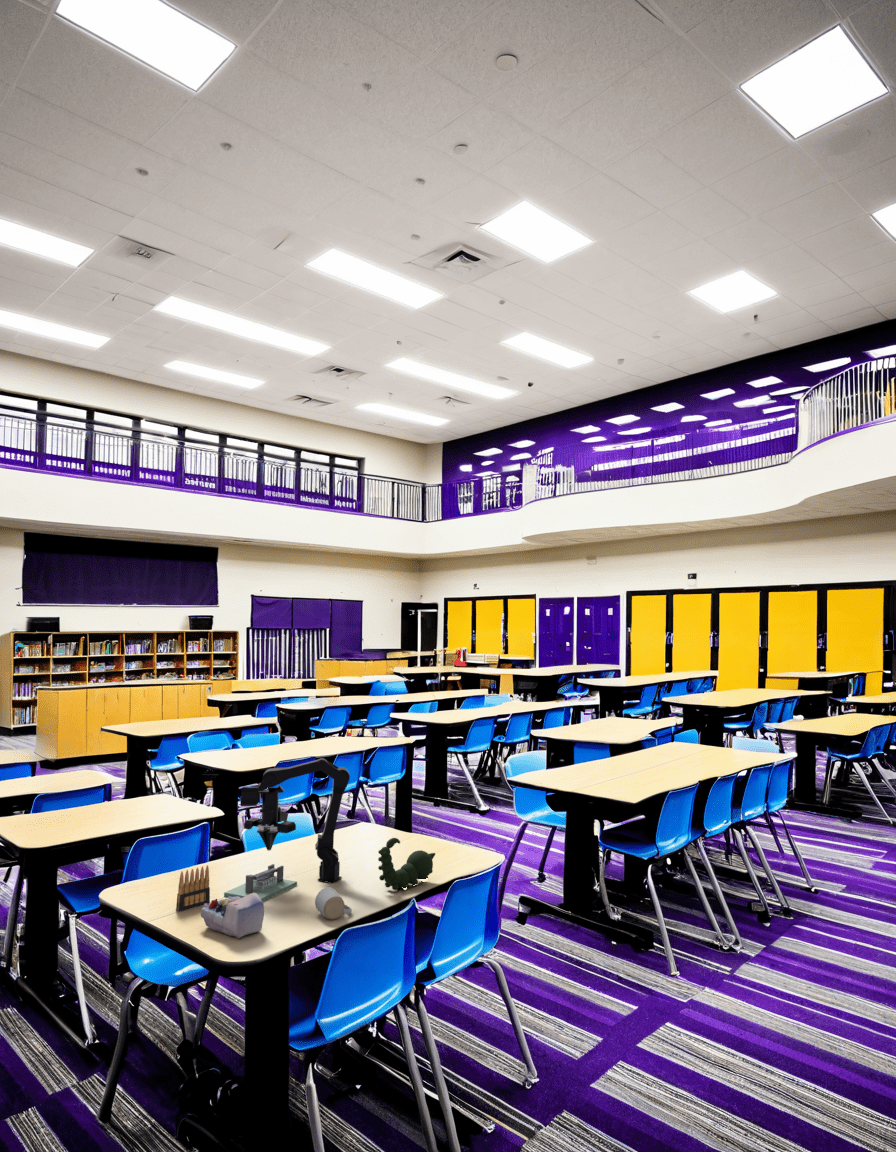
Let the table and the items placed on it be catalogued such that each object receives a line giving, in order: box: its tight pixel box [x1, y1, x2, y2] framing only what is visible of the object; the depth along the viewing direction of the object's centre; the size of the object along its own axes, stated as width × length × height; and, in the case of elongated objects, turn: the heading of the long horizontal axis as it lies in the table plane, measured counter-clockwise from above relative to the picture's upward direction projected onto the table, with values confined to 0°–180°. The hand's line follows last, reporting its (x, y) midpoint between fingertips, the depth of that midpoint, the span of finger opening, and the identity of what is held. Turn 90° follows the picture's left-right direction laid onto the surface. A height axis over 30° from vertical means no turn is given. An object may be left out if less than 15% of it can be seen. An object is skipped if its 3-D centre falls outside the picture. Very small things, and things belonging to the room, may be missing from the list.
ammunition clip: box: [175, 864, 211, 912], centre depth 229 cm, size 11×2×12 cm, turn 138°
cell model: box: [200, 893, 265, 939], centre depth 211 cm, size 13×11×20 cm
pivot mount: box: [267, 863, 284, 883], centre depth 252 cm, size 5×3×5 cm, turn 66°
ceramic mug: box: [314, 887, 352, 921], centre depth 222 cm, size 11×8×8 cm
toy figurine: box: [377, 837, 436, 891], centre depth 251 cm, size 9×19×25 cm
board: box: [223, 878, 298, 903], centre depth 245 cm, size 15×20×1 cm
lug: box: [245, 874, 256, 893], centre depth 240 cm, size 2×2×5 cm
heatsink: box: [253, 875, 277, 892], centre depth 245 cm, size 7×8×3 cm
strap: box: [253, 867, 277, 880], centre depth 247 cm, size 12×3×1 cm, turn 155°
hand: (269, 850), depth 254 cm, fingers closed
